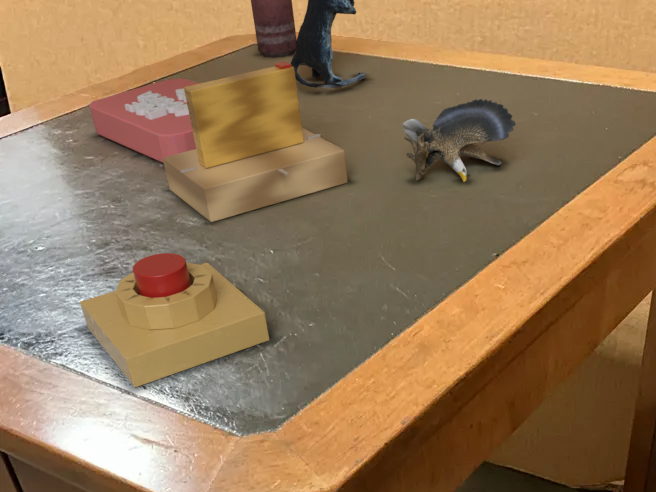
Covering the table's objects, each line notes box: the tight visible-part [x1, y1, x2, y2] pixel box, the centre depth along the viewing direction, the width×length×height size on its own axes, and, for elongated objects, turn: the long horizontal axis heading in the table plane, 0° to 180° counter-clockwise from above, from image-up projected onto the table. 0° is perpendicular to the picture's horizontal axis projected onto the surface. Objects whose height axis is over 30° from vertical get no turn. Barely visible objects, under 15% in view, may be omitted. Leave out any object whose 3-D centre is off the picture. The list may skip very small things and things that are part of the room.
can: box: [250, 0, 297, 58], centre depth 116 cm, size 5×5×12 cm
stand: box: [162, 127, 349, 223], centre depth 84 cm, size 14×14×3 cm
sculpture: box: [290, 0, 367, 90], centre depth 103 cm, size 8×11×15 cm
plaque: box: [88, 78, 200, 163], centre depth 96 cm, size 18×4×15 cm
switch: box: [79, 261, 270, 388], centre depth 63 cm, size 10×10×4 cm
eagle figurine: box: [402, 98, 517, 183], centre depth 82 cm, size 8×7×9 cm
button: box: [132, 252, 191, 298], centre depth 61 cm, size 4×4×2 cm
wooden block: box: [184, 60, 304, 168], centre depth 81 cm, size 10×2×7 cm, turn 123°
